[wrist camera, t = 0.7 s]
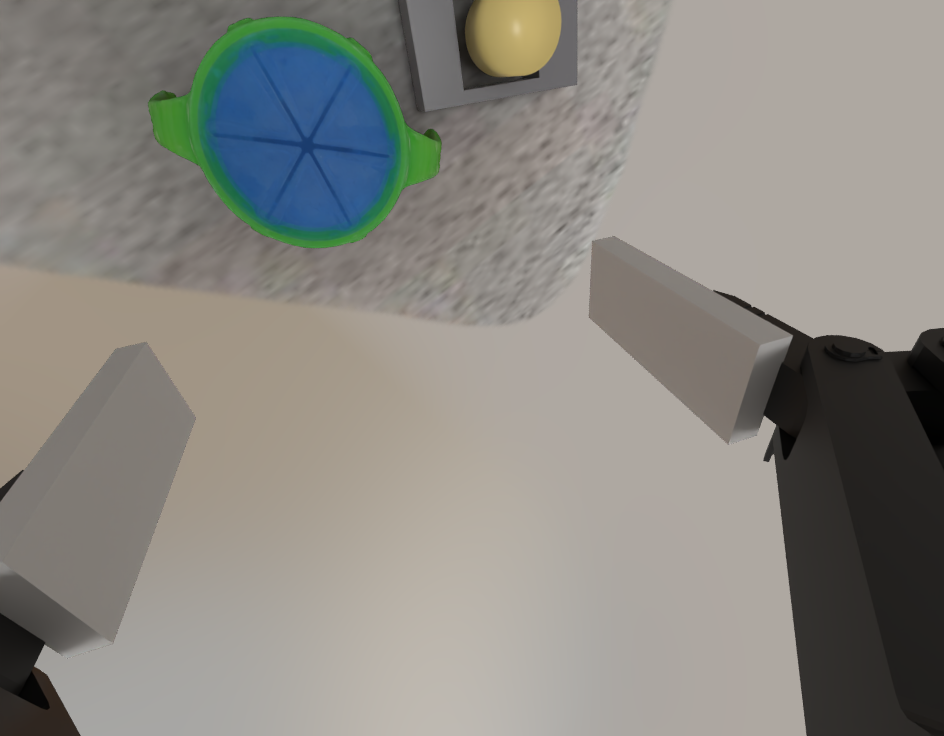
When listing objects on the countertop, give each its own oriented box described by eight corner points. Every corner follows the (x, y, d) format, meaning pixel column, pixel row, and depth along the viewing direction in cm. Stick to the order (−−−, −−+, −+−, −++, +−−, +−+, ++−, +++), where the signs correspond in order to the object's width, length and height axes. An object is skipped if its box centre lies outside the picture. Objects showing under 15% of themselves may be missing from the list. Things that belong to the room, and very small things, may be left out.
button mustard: (459, -10, 26) (478, -24, 23) (532, -19, 27) (560, -35, 23) (470, 82, 29) (488, 81, 25) (536, 71, 29) (562, 69, 26)
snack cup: (186, 185, 30) (133, 222, 22) (175, -6, 25) (102, -51, 17) (409, 227, 36) (433, 269, 27) (435, 78, 31) (475, 74, 23)
